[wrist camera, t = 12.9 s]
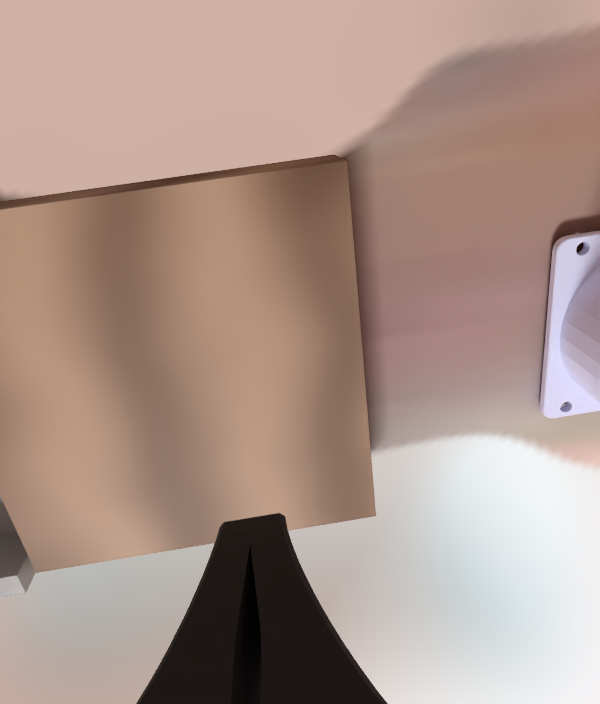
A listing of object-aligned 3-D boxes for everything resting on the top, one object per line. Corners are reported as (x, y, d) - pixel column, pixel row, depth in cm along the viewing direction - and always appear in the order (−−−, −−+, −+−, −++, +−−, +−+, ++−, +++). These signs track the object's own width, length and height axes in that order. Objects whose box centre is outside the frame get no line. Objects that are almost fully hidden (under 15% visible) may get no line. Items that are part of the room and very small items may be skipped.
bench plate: (333, 154, 18) (347, 160, 16) (363, 477, 24) (375, 516, 22) (-78, 212, 18) (-125, 227, 15) (56, 528, 24) (36, 572, 21)
